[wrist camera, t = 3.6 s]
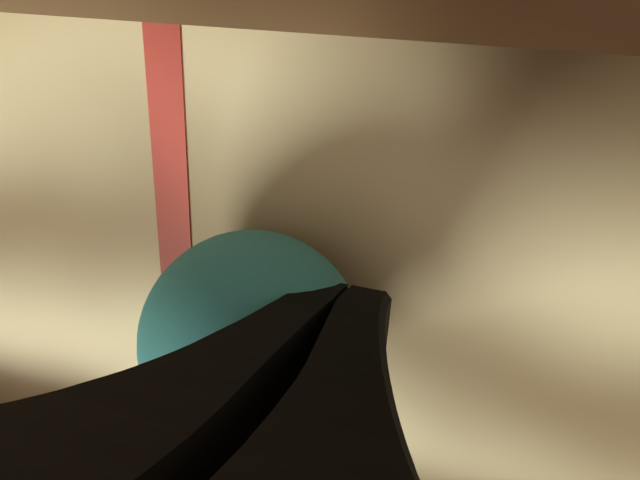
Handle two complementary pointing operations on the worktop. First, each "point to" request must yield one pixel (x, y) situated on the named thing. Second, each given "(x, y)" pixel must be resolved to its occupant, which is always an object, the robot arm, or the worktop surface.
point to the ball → (226, 286)
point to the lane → (346, 198)
